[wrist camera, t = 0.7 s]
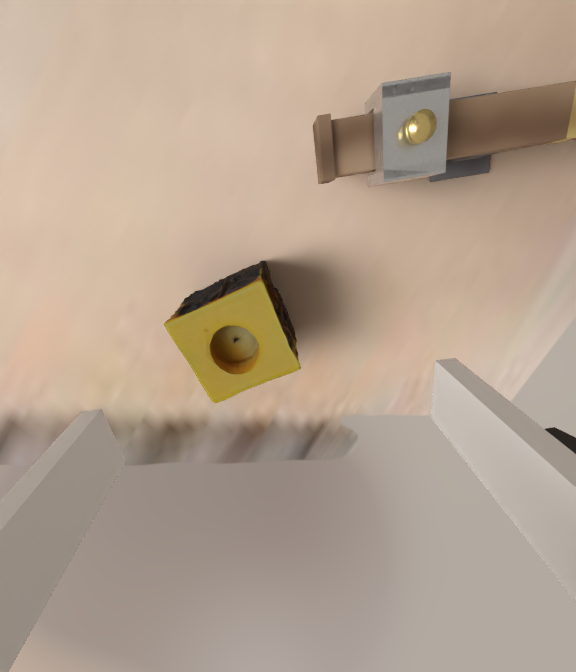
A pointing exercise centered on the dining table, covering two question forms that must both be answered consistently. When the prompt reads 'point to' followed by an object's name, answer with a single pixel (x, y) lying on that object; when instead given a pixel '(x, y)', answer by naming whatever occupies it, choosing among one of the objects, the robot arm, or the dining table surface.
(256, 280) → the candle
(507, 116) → the beam
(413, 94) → the rider
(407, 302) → the dining table surface
